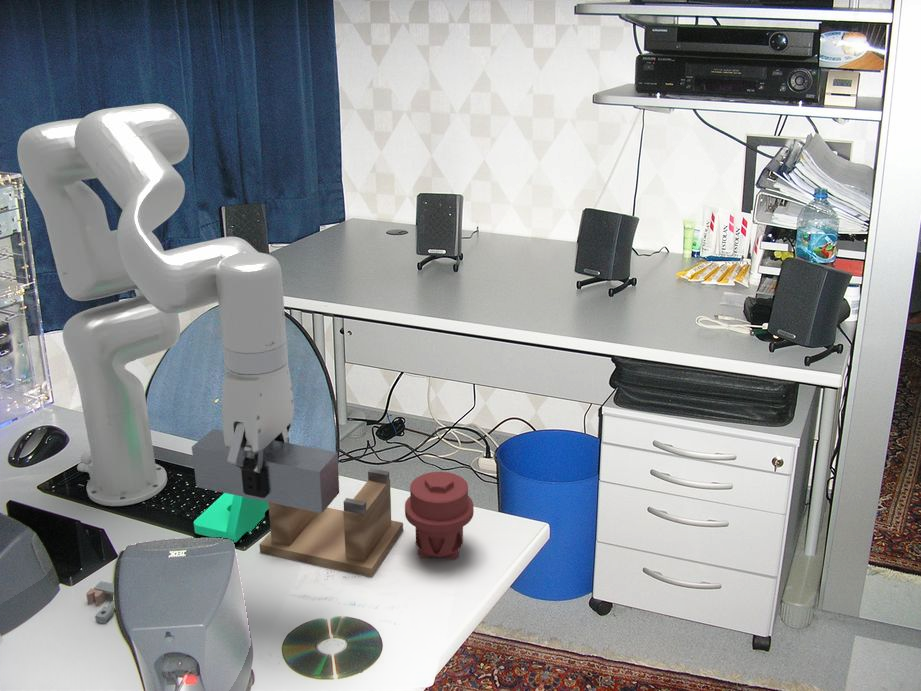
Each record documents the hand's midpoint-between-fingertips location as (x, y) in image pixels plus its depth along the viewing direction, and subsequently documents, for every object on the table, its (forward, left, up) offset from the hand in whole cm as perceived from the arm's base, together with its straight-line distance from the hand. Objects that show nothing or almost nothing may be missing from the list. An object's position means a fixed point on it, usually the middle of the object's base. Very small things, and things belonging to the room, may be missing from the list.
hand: (267, 482), depth 117 cm
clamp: (-17, -6, -20) cm, 27 cm away
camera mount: (-16, +15, -20) cm, 29 cm away
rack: (+1, +15, -19) cm, 24 cm away
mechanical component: (+17, +18, -19) cm, 31 cm away
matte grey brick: (0, 0, -1) cm, 1 cm away
